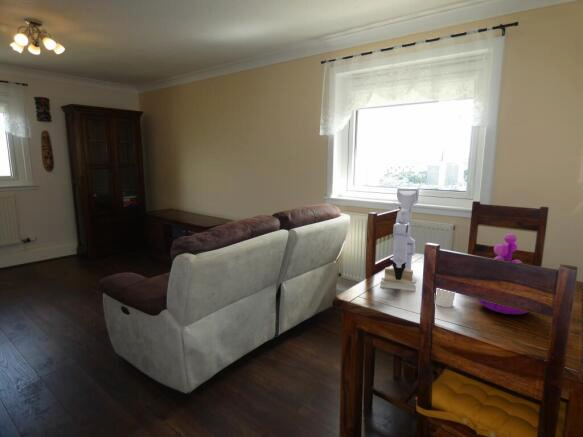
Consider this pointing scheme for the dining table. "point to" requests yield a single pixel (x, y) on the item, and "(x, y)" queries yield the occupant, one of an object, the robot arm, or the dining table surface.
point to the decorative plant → (502, 251)
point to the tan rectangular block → (405, 278)
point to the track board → (398, 285)
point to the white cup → (444, 298)
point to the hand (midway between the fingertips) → (398, 278)
